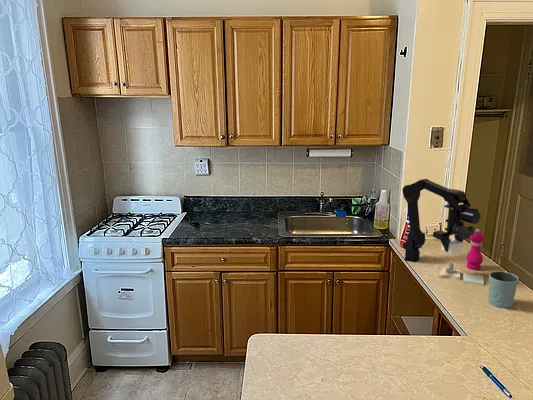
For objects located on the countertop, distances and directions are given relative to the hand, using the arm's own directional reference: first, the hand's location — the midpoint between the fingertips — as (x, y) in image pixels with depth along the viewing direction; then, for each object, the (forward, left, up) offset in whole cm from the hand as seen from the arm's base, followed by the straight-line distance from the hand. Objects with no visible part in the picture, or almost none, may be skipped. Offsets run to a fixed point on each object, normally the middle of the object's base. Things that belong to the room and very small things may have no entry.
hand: (451, 250), depth 182 cm
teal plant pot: (+19, -21, -13) cm, 31 cm away
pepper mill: (+11, +13, -12) cm, 21 cm away
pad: (+10, -2, -12) cm, 16 cm away
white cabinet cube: (0, 0, 0) cm, 0 cm away
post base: (0, 0, -12) cm, 12 cm away
